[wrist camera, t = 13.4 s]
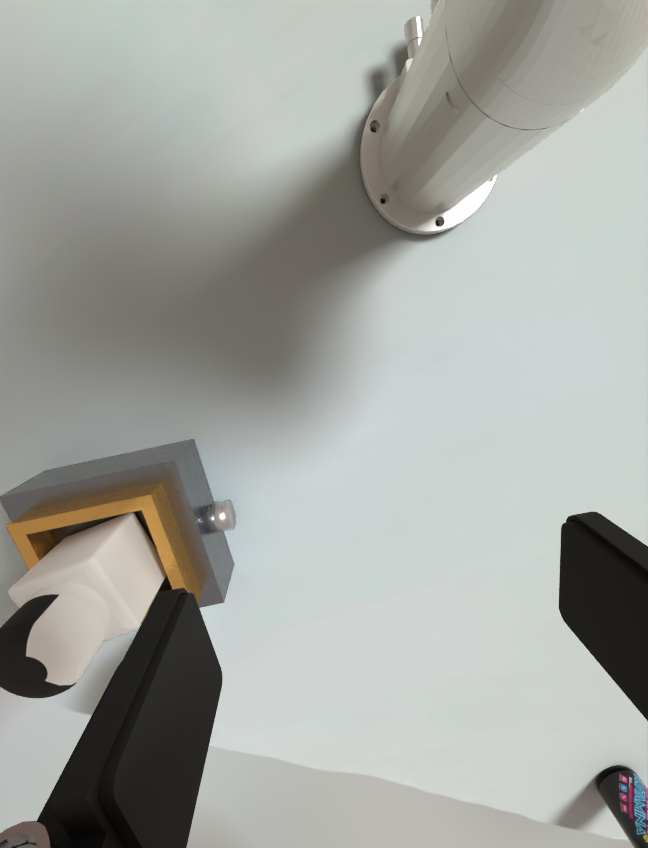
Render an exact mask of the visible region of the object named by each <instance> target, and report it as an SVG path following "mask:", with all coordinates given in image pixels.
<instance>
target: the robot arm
mask: <svg viewBox="0 0 648 848" xmlns="http://www.w3.org/2000/svg"><path fill="white" fill-rule="evenodd" d="M431 15H432V16H431V19H430V21H429V23H428V26H427V28H426V30H425V33H424V31H423V21H422V18H421V17H414V18H411V19H410V20H409V21H407V23H406V24H405V26H404V30H405V39H406V49H407V50H408V60H407V61H406V63H405V66H404V68H403V70H402V73H401V75H400V76H399V77H397V78H396V79H394V80H393V81H392V82H391V83H390V84H389V85H388V86H387V87H386V88H385V89H384V90H383V91H382V93H381V94H380V96H379V97H378V99H377V100H376V102H375V103H374V105H373V107H372V109H371V112H370V114H369V116H368V118H367V121H366V124H365V127H364V130H363V135H362V140H361V146H360V167H361V174H362V180H363V183H364V186H365V189H366V192H367V194H368V196H369V198H370V200H371V202H372V204H373V205H374V207H375V208H376V209H377V210H378V212H379V213H380V214H381V215H382V217H384V218H385V219H386V220H387V221H388V222H390V223H391V224H392V225H394V226H396V227H398V228H399V229H401V230H403V231H406V232H410V233H414V234H423V235H430V234H436V233H441V232H444V231H447V230H449V229H452V228H454V227H455V226H457V225H459V224H461V223H462V222H464V221H465V220H466V219H468V218H469V217H470V216H471V215H473V214H474V213H475V212H476V211H477V209H478V208H479V207H480V206H481V205H482V204H483V203H484V201H485V200H486V198H487V196H488V195H489V193H490V192H491V190H492V188H493V186H494V184H495V181H496V179H497V176H498V174H499V173H500V172H502V171H503V170H504V169H506V168H507V167H508V166H509V165H511V164H512V163H513V162H515V161H516V160H517V159H519V158H520V157H521V156H523V155H524V154H525V153H527V152H528V151H529V150H531V149H532V148H533V147H535V146H536V145H537V144H539V143H540V142H541V141H543V140H544V139H545V138H547V137H548V136H549V135H551V134H552V133H553V132H555V131H556V130H557V129H559V128H560V127H561V126H563V125H564V124H565V123H567V122H568V121H569V120H571V119H572V118H573V117H575V116H576V115H577V114H579V113H580V112H581V111H583V110H584V109H585V108H586V107H587V106H589V105H590V104H591V103H593V102H594V101H595V100H597V99H598V98H599V97H600V96H602V95H603V94H604V93H605V92H606V91H607V90H609V89H610V88H611V87H612V86H613V85H614V84H615V83H617V82H618V81H619V80H620V79H621V78H622V76H623V75H624V74H625V73H626V72H627V71H628V70H629V69H630V68H631V67H632V66H633V65H634V63H635V62H636V61H637V60H638V59H639V57H640V56H641V55H642V53H643V52H644V51H645V49H646V48H647V46H648V0H431ZM371 129H374V130H375V132H372V131H371ZM381 199H383V200H384V201H385V204H382V203H381V202H380V200H381ZM435 221H437V222H438V224H439V225H438V226H436V224H435ZM559 610H560V613H561V616H562V618H563V620H564V621H565V623H566V624H567V625H568V627H569V628H570V629H571V630H572V631H573V632H574V634H575V635H576V636H577V637H578V638H579V640H580V641H581V642H582V643H583V644H584V646H585V647H586V648H587V649H588V650H589V651H590V653H591V654H592V655H593V656H594V657H595V659H596V660H597V661H598V662H599V663H600V665H601V666H602V667H603V668H604V669H605V671H606V672H607V673H608V674H609V675H610V676H611V678H612V679H613V680H614V681H615V682H616V684H617V685H618V686H619V687H620V688H621V690H622V691H623V692H624V693H625V694H626V696H627V697H628V698H629V699H630V700H631V701H632V703H633V704H634V705H635V706H636V707H637V709H638V710H639V711H640V712H641V713H642V715H643V716H644V717H645V718H646V719H647V721H648V546H646V545H645V544H643V543H642V542H640V541H639V540H637V539H636V538H635V537H633V536H632V535H630V534H629V533H627V532H626V531H624V530H623V529H621V528H620V527H618V526H617V525H615V524H614V523H613V522H611V521H610V520H608V519H607V518H605V517H604V516H602V515H601V514H599V513H597V512H588V513H582V514H577V515H572V516H569V517H568V518H567V520H566V523H564V524H563V525H562V528H561V555H560V587H559ZM221 687H222V671H221V667H220V665H219V662H218V659H217V656H216V653H215V651H214V648H213V645H212V642H211V640H210V637H209V634H208V631H207V629H206V626H205V623H204V620H203V618H202V615H201V612H200V609H199V607H198V604H197V601H196V598H195V596H194V594H193V593H188V592H187V590H186V589H185V588H178V589H173V590H167V591H162V592H160V593H158V595H157V596H156V598H155V600H154V601H153V603H152V605H151V607H150V609H149V611H148V613H147V615H146V617H145V619H144V621H143V623H142V625H141V626H140V628H139V630H138V632H137V634H136V636H135V638H134V640H133V642H132V644H131V646H130V648H129V649H128V651H127V653H126V655H125V657H124V659H123V661H122V662H121V663H120V665H119V666H118V668H117V669H116V671H115V673H114V675H113V677H112V679H111V681H110V682H109V684H108V686H107V688H106V690H105V692H104V694H103V696H102V698H101V700H100V701H99V703H98V705H97V707H96V709H95V711H94V713H93V715H92V717H91V719H90V721H89V723H88V724H87V726H86V728H85V730H84V732H83V734H82V736H81V738H80V740H79V741H78V743H77V745H76V747H75V749H74V751H73V753H72V755H71V757H70V759H69V761H68V762H67V764H66V766H65V768H64V770H63V772H62V774H61V776H60V778H59V780H58V782H57V783H56V785H55V787H54V789H53V791H52V793H51V795H50V797H49V799H48V801H47V803H46V804H45V806H44V808H43V810H42V812H41V814H40V816H39V818H38V820H37V821H29V822H22V823H20V824H17V825H15V826H12V827H10V828H8V829H6V830H5V831H3V832H2V833H0V848H186V846H187V842H188V837H189V832H190V828H191V824H192V819H193V815H194V810H195V805H196V800H197V796H198V792H199V787H200V783H201V778H202V774H203V769H204V764H205V759H206V755H207V751H208V746H209V742H210V737H211V733H212V728H213V724H214V719H215V715H216V710H217V706H218V701H219V696H220V692H221Z"/></svg>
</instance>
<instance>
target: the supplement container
mask: <svg viewBox="0 0 648 848" xmlns="http://www.w3.org/2000/svg"><path fill="white" fill-rule="evenodd" d="M597 789H598V792H599V793H600V795H601V797H602V798H603V800H604V801H605V803H606V804H607V806H608V808H609V809H610V811H611V812H612V814H613V815H614V817H615V818H616V820H617V822H618V823H619V825H620V826H621V828H622V829H623V831H624V833H625V834H626V836H627V837H628V839H629V840H630V842H631V843H632V845H633V847H634V848H648V788H647V787H646V786H645V784H644V783H643V782H642V780H641V779H640V778H639V776H638V775H637V774H636V773H635V772H634V771H633V770H632V769H630V768H628V767H626V766H614V767H611V768H608V769H607V770H605V771H604V772H602V773H601V774H600V776H599V777H598V779H597Z"/></svg>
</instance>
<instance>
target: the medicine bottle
mask: <svg viewBox="0 0 648 848" xmlns="http://www.w3.org/2000/svg"><path fill="white" fill-rule="evenodd" d="M166 575H167V574H166V571H165V569H164V566H163V564H162V561H161V558H160V556H159V553H158V551H157V549H156V548H155V546H154V544H153V543H152V541H151V540H150V538H149V536H148V535H147V533H146V532H145V530H144V528H143V527H142V525H141V523H140V522H139V520H138V519H137V517H136V515H135V514H134V513H133V512H129V513H127V514H124V515H122V516H119V517H117V518H114V519H111V520H109V521H106V522H104V523H101V524H99V525H96V526H94V527H91V528H88V529H86V530H83V531H81V532H78V533H76V534H73V535H71V536H68V537H66V538H64V539H63V540H62V541H61V542H60V543H59V544H57V545H56V546H55V547H54V548H53V549H52V550H51V551H50V552H49V553H48V554H47V555H45V556H44V557H43V558H42V559H41V560H40V561H39V562H38V563H37V564H36V565H34V566H33V567H32V568H31V569H30V570H29V571H28V572H27V573H26V574H25V575H24V576H22V577H21V578H20V579H19V580H18V581H17V582H16V583H15V584H14V585H13V586H12V587H10V588H9V590H8V595H9V596H10V597H11V599H12V600H13V601H14V602H15V604H16V605H17V606H18V607H19V610H18V611H17V612H16V613H15V614H14V615H13V616H12V617H11V618H10V619H9V620H8V621H7V622H6V623H5V624H4V625H3V626H2V627H1V628H0V687H1V688H3V689H5V690H6V691H8V692H10V693H13V694H16V695H19V696H22V697H28V698H45V697H51V696H54V695H57V694H59V693H62V692H64V691H66V690H68V689H70V688H71V687H72V686H74V685H75V684H76V683H77V682H78V680H79V679H80V677H81V676H82V674H83V673H84V671H85V669H86V668H87V666H88V665H89V663H90V661H91V660H92V658H93V656H94V655H95V653H96V652H97V650H98V648H99V647H100V645H101V644H102V642H104V641H106V640H109V639H112V638H114V637H117V636H120V635H122V634H125V633H128V632H130V631H133V630H136V629H137V628H138V627H139V626H140V624H141V622H142V621H143V619H144V617H145V615H146V613H147V611H148V609H149V607H150V605H151V604H152V602H153V600H154V598H155V596H156V594H157V592H158V590H159V588H160V586H161V585H162V583H163V581H164V579H165V577H166Z"/></svg>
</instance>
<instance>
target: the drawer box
mask: <svg viewBox="0 0 648 848" xmlns="http://www.w3.org/2000/svg"><path fill="white" fill-rule="evenodd" d="M0 500H1V502H2V504H3V506H4V508H5V510H6V512H7V514H8V516H9V518H10V520H11V522H10V523H9V524H7V525H6V527H7V529H8V531H9V533H10V535H11V537H12V539H13V540H14V542H15V544H16V546H17V548H18V550H19V552H20V554H21V556H22V558H23V560H24V562H25V564H26V566H27V567H28V569H29V570H30V569H31V568H32V567H33V566H34V565H36V564H37V563H38V562H39V561H40V560H41V559H42V558H43V557H44V556H45V555H47V554H48V553H49V552H50V551H51V550H52V549H53V548H54V547H55V546H56V545H57V544H59V543H60V542H61V541H62V540H63V539H64V538H66V537H68V536H71V535H73V534H76V533H78V532H81V531H83V530H86V529H88V528H91V527H94V526H96V525H99V524H101V523H104V522H106V521H109V520H111V519H114V518H117V517H119V516H122V515H124V514H127V513H129V512H133V513H134V514H135V515H136V517H137V519H138V520H139V522H140V523H141V525H142V527H143V528H144V530H145V532H146V533H147V535H148V536H149V538H150V540H151V541H152V543H153V544H154V546H155V548H156V549H157V551H158V553H159V556H160V558H161V561H162V564H163V566H164V569H165V571H166V574H167V575H166V577H165V579H164V581H163V583H162V585H161V586H160V588H159V590H158V592H157V594H156V596H157V595H158V593H160V592H162V591H167V590H173V589H178V588H185V589H186V590H187V592H188V593H193V594H194V596H195V598H196V601H197V604H198V607H199V608H201V607H205V606H210V605H214V604H219V603H224V600H225V597H226V593H227V589H228V586H229V582H230V578H231V574H232V571H233V567H234V562H233V559H232V556H231V553H230V550H229V547H228V544H227V540H226V537H225V534H224V531H227V530H231V529H234V528H235V525H236V516H235V510H234V507H233V504H232V502H231V501H230V500H227V501H222V502H217V503H214V500H213V497H212V494H211V491H210V488H209V485H208V482H207V478H206V475H205V472H204V469H203V466H202V463H201V460H200V457H199V454H198V451H197V447H196V444H195V441H194V439H191V440H187V441H182V442H177V443H173V444H168V445H163V446H159V447H154V448H149V449H145V450H140V451H135V452H130V453H126V454H121V455H116V456H112V457H107V458H102V459H98V460H93V461H88V462H84V463H79V464H74V465H69V466H65V467H60V468H55V469H51V470H46V471H44V472H42V473H40V474H38V475H37V476H35V477H33V478H32V479H30V480H28V481H26V482H25V483H23V484H21V485H19V486H18V487H16V488H14V489H12V490H11V491H9V492H7V493H6V494H4V495H2V496H0ZM156 596H155V598H156ZM155 598H154V600H155ZM154 600H153V601H154ZM152 603H153V602H152ZM151 605H152V604H151ZM151 605H150V607H151ZM150 607H149V609H150ZM149 609H148V611H149ZM148 611H147V613H148ZM147 613H146V615H147ZM146 615H145V617H146ZM145 617H144V619H145ZM144 619H143V621H144ZM143 621H142V622H143ZM142 622H141V623H142Z"/></svg>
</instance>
